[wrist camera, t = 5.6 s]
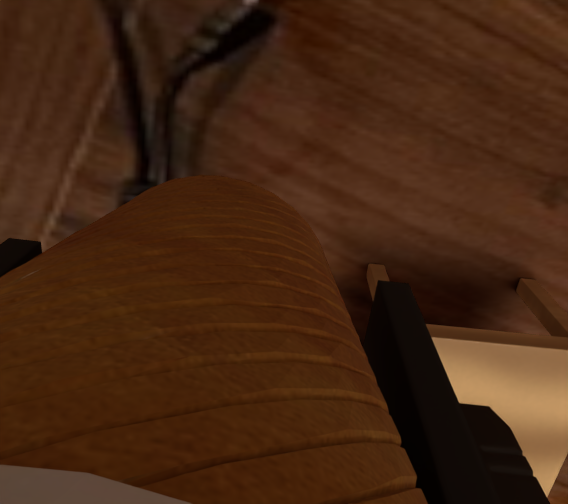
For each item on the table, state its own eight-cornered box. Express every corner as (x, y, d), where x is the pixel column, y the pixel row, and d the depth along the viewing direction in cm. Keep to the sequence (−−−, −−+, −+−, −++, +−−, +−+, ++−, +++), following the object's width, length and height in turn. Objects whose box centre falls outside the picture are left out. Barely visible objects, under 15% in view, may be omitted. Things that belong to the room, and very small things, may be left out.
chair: (365, 259, 31) (442, 528, 14) (539, 277, 31) (812, 561, 14) (340, 396, 35) (376, 718, 19) (491, 411, 35) (656, 741, 19)
